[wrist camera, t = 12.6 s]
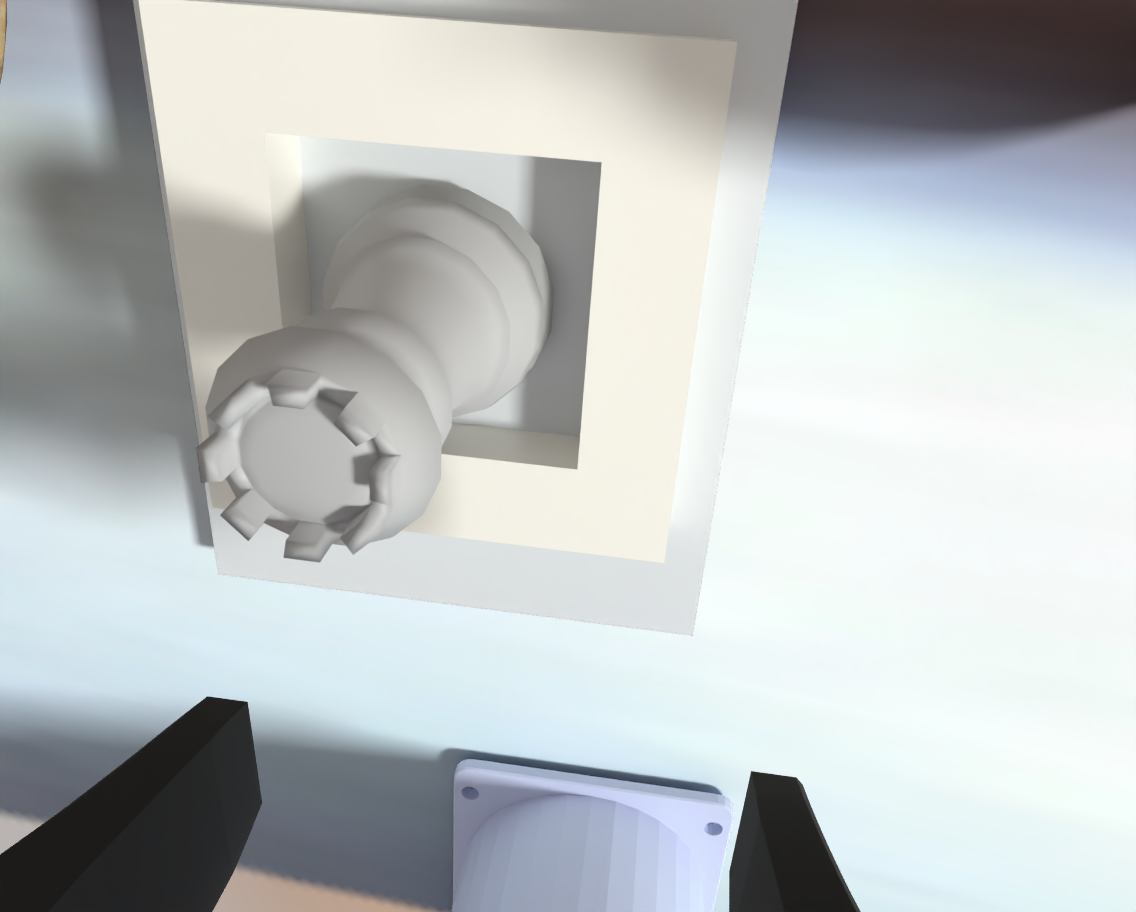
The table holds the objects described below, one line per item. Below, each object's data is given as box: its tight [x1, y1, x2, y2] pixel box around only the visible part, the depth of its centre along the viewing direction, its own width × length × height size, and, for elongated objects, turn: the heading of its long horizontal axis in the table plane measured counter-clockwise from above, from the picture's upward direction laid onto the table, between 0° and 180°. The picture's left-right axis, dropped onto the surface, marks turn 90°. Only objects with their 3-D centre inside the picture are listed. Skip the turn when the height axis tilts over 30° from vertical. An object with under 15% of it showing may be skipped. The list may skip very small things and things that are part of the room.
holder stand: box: [133, 0, 798, 636], centre depth 18 cm, size 16×12×2 cm
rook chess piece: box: [196, 185, 554, 563], centre depth 14 cm, size 4×4×8 cm
